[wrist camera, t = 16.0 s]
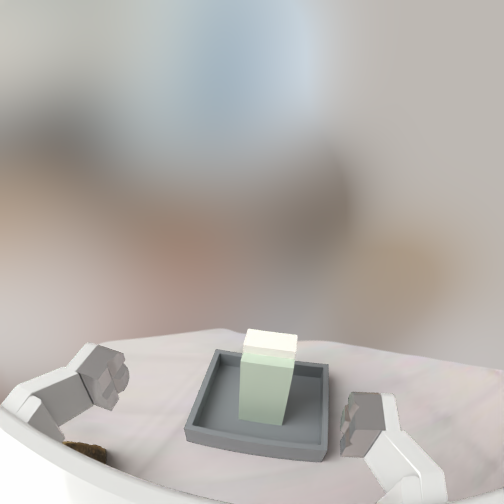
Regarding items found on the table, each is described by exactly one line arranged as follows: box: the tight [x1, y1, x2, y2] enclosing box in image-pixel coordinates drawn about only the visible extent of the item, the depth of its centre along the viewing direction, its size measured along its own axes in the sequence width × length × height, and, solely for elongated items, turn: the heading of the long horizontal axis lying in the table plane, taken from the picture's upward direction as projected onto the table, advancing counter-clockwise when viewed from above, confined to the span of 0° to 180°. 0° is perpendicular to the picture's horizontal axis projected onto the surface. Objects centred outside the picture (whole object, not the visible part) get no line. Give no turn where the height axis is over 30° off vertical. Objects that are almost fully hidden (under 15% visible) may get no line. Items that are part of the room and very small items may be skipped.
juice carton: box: [239, 329, 298, 426], centre depth 38 cm, size 6×6×13 cm
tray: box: [184, 349, 329, 462], centre depth 41 cm, size 18×16×4 cm
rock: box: [62, 441, 106, 464], centre depth 27 cm, size 11×9×10 cm
